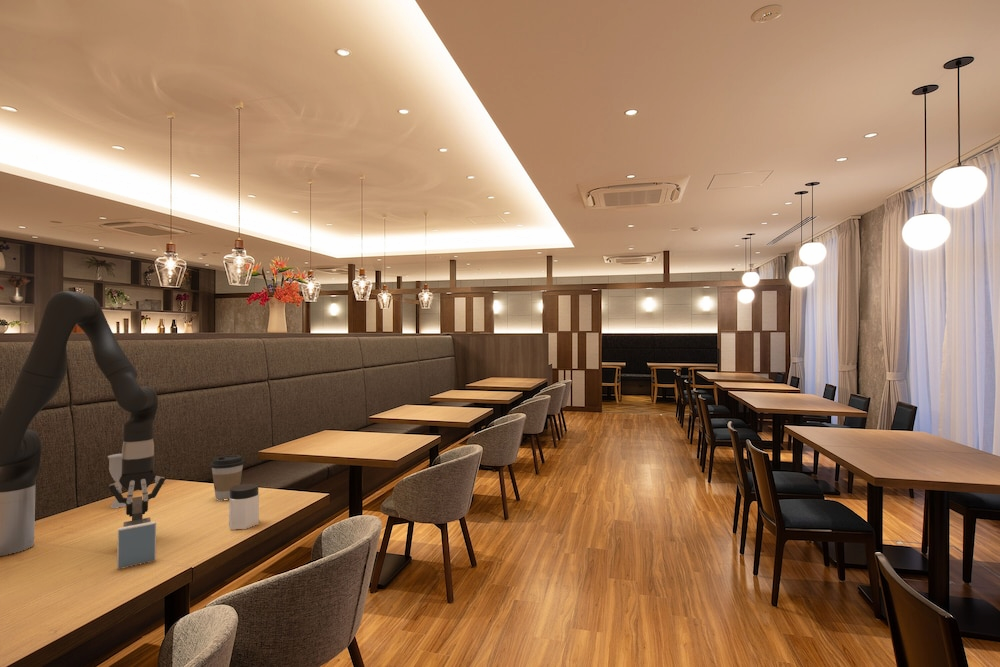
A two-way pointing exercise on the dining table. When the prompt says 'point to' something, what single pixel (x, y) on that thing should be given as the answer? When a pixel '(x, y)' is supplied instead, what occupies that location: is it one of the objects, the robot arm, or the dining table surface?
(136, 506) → the turner
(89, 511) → the dining table surface
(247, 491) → the jar
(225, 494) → the coffee cup
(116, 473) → the chalice
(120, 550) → the tile
